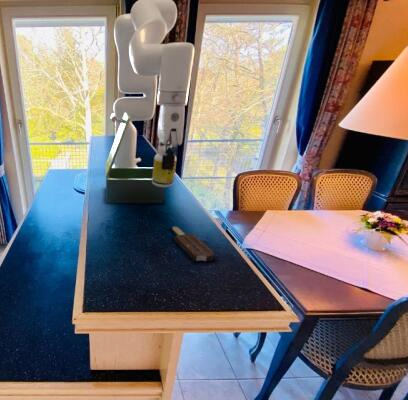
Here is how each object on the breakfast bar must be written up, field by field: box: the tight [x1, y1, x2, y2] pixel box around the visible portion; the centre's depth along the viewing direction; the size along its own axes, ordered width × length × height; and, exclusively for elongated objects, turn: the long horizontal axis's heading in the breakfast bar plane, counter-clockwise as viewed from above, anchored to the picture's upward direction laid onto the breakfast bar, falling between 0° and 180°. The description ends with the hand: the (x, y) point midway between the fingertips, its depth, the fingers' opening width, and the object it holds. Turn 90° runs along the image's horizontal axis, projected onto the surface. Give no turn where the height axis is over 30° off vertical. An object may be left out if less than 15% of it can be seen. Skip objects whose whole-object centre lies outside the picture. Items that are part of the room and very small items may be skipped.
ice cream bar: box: [171, 226, 215, 263], centre depth 69 cm, size 5×2×15 cm
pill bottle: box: [152, 145, 177, 188], centre depth 76 cm, size 6×6×11 cm
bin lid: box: [104, 112, 130, 179], centre depth 89 cm, size 20×13×5 cm
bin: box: [105, 167, 166, 204], centre depth 95 cm, size 20×13×9 cm, turn 89°
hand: (164, 164), depth 76 cm, fingers closed on pill bottle, 6 cm apart
